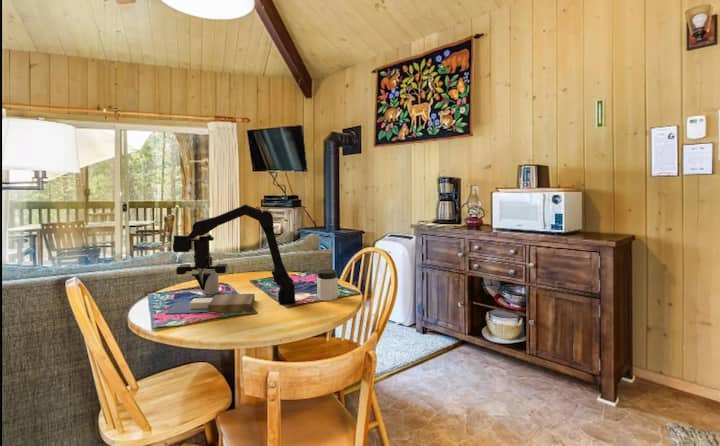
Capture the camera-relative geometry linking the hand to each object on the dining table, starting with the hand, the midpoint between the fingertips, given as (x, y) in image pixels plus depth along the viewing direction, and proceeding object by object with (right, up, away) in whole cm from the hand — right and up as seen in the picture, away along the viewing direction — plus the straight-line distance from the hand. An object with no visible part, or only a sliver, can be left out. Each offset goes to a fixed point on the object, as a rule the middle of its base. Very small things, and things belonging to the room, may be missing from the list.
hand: (203, 289), depth 171 cm
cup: (-6, -5, +23) cm, 24 cm away
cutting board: (+11, -7, +2) cm, 13 cm away
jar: (+49, -6, +14) cm, 51 cm away
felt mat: (-5, -7, 0) cm, 9 cm away
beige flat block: (-1, -7, +1) cm, 7 cm away
